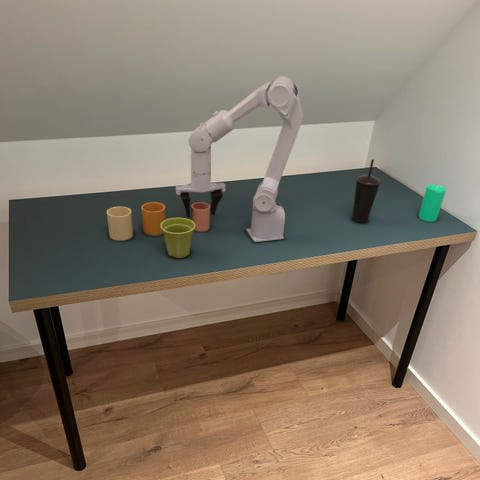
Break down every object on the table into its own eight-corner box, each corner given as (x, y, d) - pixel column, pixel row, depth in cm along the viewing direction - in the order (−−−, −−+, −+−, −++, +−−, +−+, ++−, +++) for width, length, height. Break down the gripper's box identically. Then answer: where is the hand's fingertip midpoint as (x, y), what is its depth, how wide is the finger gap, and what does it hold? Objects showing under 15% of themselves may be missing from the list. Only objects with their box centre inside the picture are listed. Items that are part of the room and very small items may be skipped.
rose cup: (207, 222, 160) (207, 201, 156) (211, 230, 156) (212, 209, 151) (189, 224, 158) (189, 203, 154) (193, 232, 154) (193, 210, 150)
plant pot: (164, 263, 139) (163, 234, 134) (159, 246, 146) (157, 218, 141) (198, 259, 141) (198, 231, 136) (191, 243, 148) (191, 216, 143)
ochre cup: (163, 224, 157) (162, 201, 153) (168, 234, 152) (167, 211, 148) (141, 226, 155) (139, 203, 151) (145, 236, 150) (143, 213, 146)
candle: (416, 218, 170) (426, 184, 163) (420, 212, 174) (430, 178, 167) (435, 223, 168) (445, 188, 161) (438, 216, 172) (449, 182, 165)
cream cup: (131, 228, 154) (129, 205, 149) (134, 239, 149) (132, 215, 144) (108, 231, 152) (105, 207, 147) (110, 241, 147) (108, 217, 142)
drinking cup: (371, 227, 163) (385, 165, 151) (347, 223, 164) (359, 162, 152) (371, 216, 169) (385, 157, 157) (348, 213, 170) (360, 154, 158)
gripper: (221, 164, 151) (219, 207, 159) (173, 167, 147) (174, 211, 155) (228, 173, 146) (226, 217, 154) (178, 176, 142) (179, 221, 150)
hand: (200, 214), depth 154 cm, fingers open, 7 cm apart
